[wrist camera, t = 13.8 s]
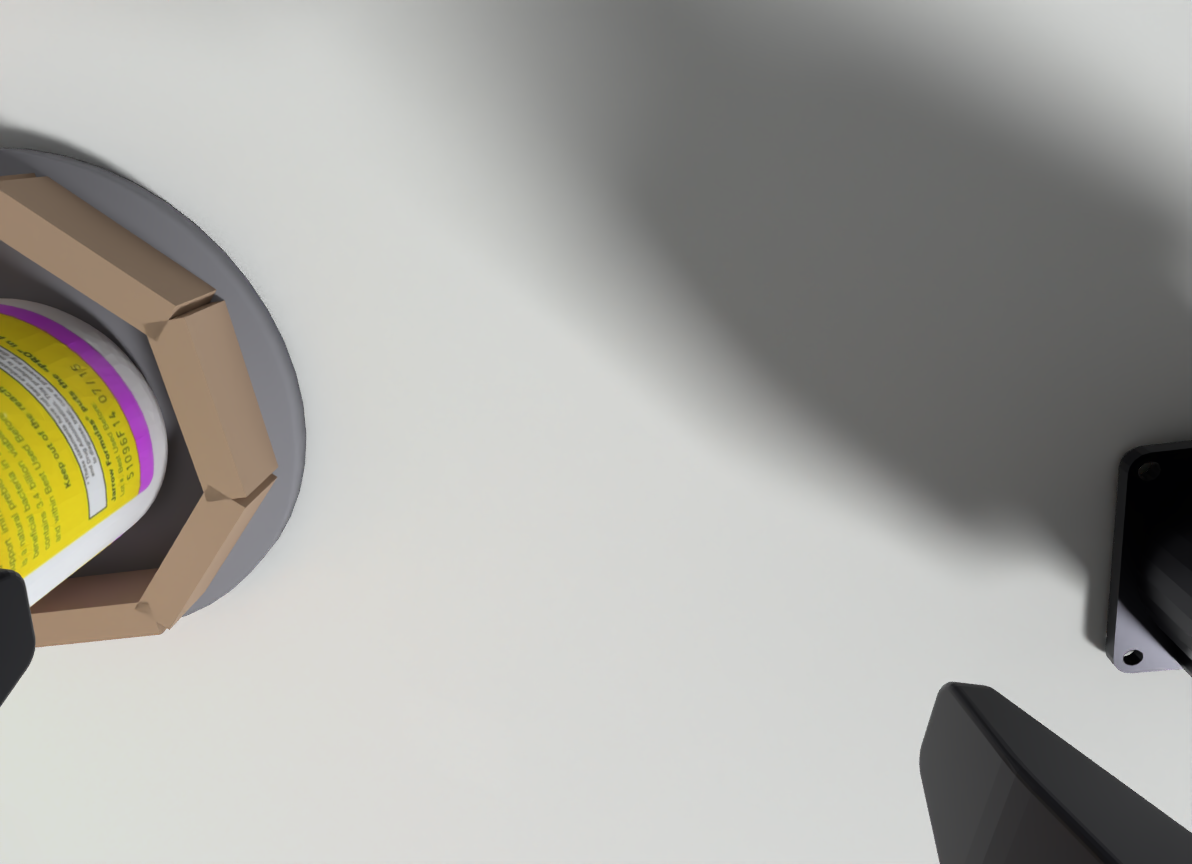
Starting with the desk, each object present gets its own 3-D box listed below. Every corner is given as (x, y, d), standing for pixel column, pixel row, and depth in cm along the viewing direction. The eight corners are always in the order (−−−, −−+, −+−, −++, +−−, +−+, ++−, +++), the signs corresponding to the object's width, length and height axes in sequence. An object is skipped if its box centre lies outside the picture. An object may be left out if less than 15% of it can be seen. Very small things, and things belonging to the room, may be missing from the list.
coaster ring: (361, 589, 23) (327, 644, 21) (-47, 633, 25) (-123, 689, 22) (215, 104, 19) (150, 102, 16) (-274, 194, 20) (-400, 204, 18)
